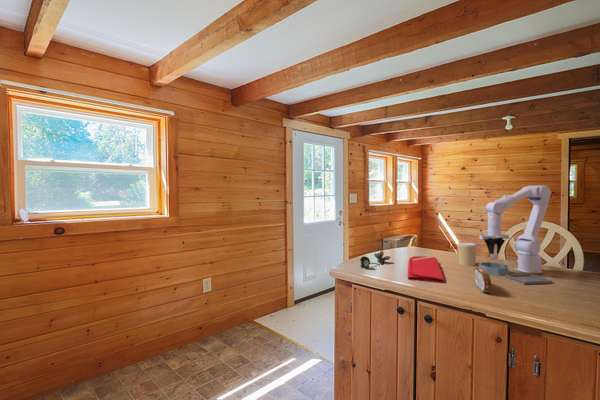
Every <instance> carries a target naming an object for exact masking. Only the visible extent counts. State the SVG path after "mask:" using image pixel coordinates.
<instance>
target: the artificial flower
mask: <svg viewBox="0 0 600 400" xmlns="http://www.w3.org/2000/svg"><path fill="white" fill-rule="evenodd" d="M373 255H374V257H375V258H376V259H377V260H376V262H371V260H370V258H369V257H367V256H362V257H360V259H359V261H360V265H359V266H360V267H361V269H364V268H366V269H365V270H367V269H369V268H370V265H371V264H372V265H377V266H381V265H382V264H383V263H384V262H385V261H389V260H390V259H391V256H390V255H387V256H384V255H385V252H384V250H383V249H382V250H381V251H379V252H375V253H373ZM378 261H379V263H377V262H378ZM380 264H381V265H380Z"/></svg>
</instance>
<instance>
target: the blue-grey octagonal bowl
mask: <svg viewBox="0 0 600 400" xmlns="http://www.w3.org/2000/svg"><path fill="white" fill-rule="evenodd" d="M478 268H484V269H485V270H486V271H487V272H488V273H489V275H490V276H492V275H493V276H498V277H499V276H501V277H502V276H505V275H510V274H509V273H510V265H506V264H503V263H499V262H491V261H486V262H485V261H483V262H482V261H481V262H480V263H478Z"/></svg>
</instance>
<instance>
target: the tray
mask: <svg viewBox="0 0 600 400" xmlns="http://www.w3.org/2000/svg"><path fill="white" fill-rule="evenodd" d="M504 277H505V278H507V279H509V280H513V281H515V282H518V283H521V284H523V285H524V286H538V285H539V286H540V285H545V284H547V285H552V284H553V281H552V280H551V279H548V278H546V277H542V276H539V275H536V274H532V273H516V274H513V273H512V274H508V275H504Z"/></svg>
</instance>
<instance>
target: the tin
mask: <svg viewBox="0 0 600 400" xmlns="http://www.w3.org/2000/svg"><path fill="white" fill-rule="evenodd" d="M474 281H475V285H476V287H478V289H479V290H480V292H481V293H485V294H491V293H492V285H493V284H492V279H491V274H489V273H488V272H487V271H486V270H485V269H484V268H479V267H475V268H474Z"/></svg>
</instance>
